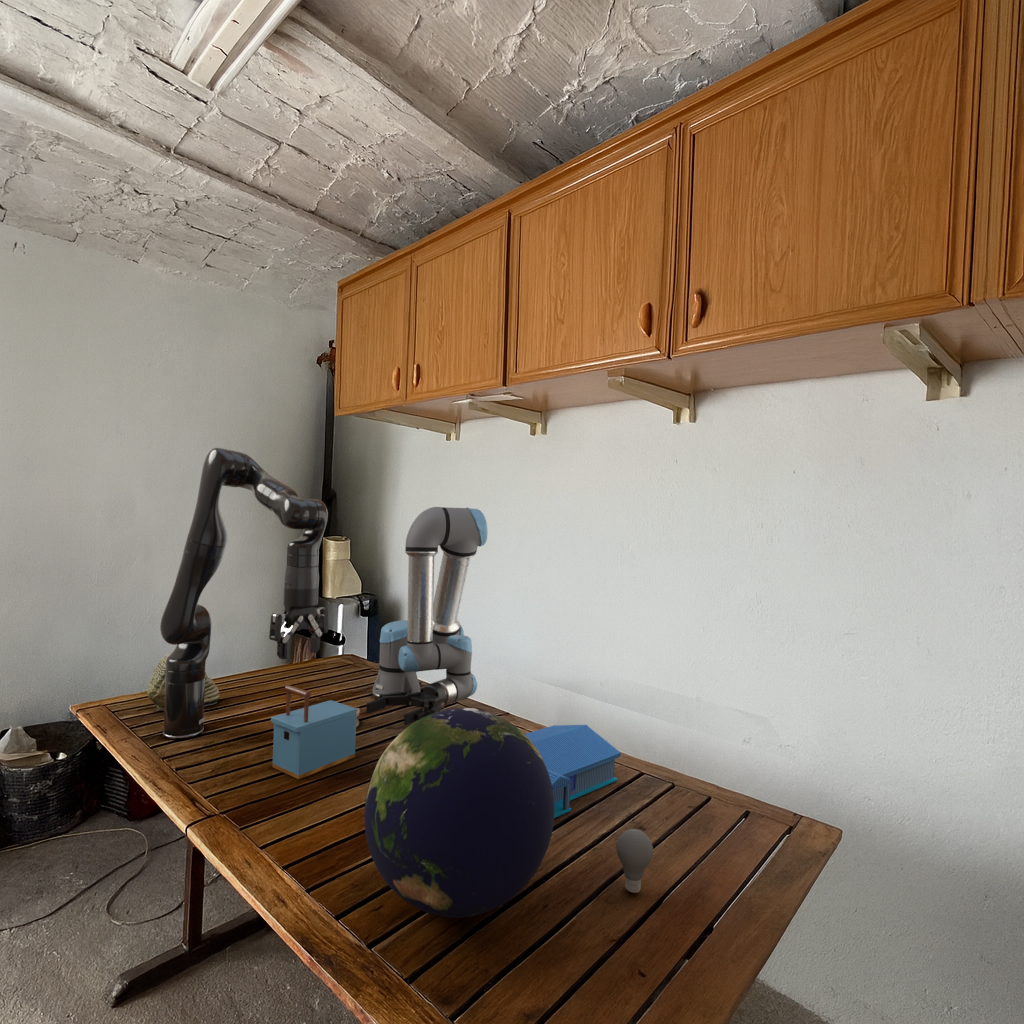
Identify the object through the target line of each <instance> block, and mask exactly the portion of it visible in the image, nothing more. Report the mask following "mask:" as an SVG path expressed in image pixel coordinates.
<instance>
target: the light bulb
mask: <svg viewBox="0 0 1024 1024" xmlns="http://www.w3.org/2000/svg"><path fill="white" fill-rule="evenodd" d="M615 849H616V854H617V857H618V859H619V861H620V863H621V865H622V867H623V873H624V874H623V875H624V876H625V878H624V888H625V890H627V891H628V892H630V893H634V894H635V893H639V892H640V891H641V889H642V887H641V886H642V879H643V877H644V875H645V871H646V868H647V867H648V866H649V864H650V863H651V861H652V859H653V855H654V847H653V843H652V841H651V838H649V836H648V835H647V834H646V833H645V832H643V831H642V830H641V829H636V828H629V829H627V830H625V831H623V832H622V833H621V834H620V835H619V837H618V839H617V841H616V847H615Z"/></svg>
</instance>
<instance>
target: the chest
mask: <svg viewBox="0 0 1024 1024" xmlns="http://www.w3.org/2000/svg"><path fill="white" fill-rule="evenodd" d="M356 718H357V714H353V715H350V716H347V717H344V718H340V719H337V720H334V721H331V722H328V723H325V724H322V725H319V726H316V727H313V728H310V729H306V730H303V731H300V732H295V731H292V730H289V729H287V728H284V727H282V726H279V725H277V724H274V723H273V740H272V741H273V742H272V743H273V744H272V763H271V764H272V766H271V767H272V768H273V769H275V770H277V771H280V772H282V773H284V774H286V775H289V776H290V777H293V778H295V779H297V780H301V779H303V778H306V777H308V776H311V775H313V774H316V773H318V772H321V771H323V770H326V769H328V768H332V767H334V766H336V765H338V764H342V763H343V762H346V761H349V760H352V759H354V758H356V741H357V739H356V738H357V727H356ZM357 719H358V718H357Z"/></svg>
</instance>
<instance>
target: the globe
mask: <svg viewBox="0 0 1024 1024" xmlns="http://www.w3.org/2000/svg"><path fill="white" fill-rule="evenodd" d="M525 734H526V733H524V732H523V731H522V730H521V729H520V728H519V727H517V726H516V725H514V724H513V723H512V722H510V721H509V720H507V719H506V718H503V717H501V716H499V715H497V714H495V713H492V712H489V711H487V710H486V711H485V710H482V709H478V708H472V707H463V708H462V707H461V708H449V709H443V710H441V711H439V712H436V713H433V714H430V715H428V716H426V717H424V718H422V719H420V720H418V721H415V722H413V723H410V724H409V726H407V727H406V728H405V729H403V730H402V731H401V732H400V733H399V734H398V735H397V736H396V737H395V738H394V739H393V740H392V741H391V742H390V743H389V744H388V746H387V747H386V748H385V750H384V752H382V754H381V755H380V757H379V759H378V761H377V763H376V765H375V767H374V770H373V772H372V774H371V777H370V781H369V784H368V787H367V791H366V795H365V800H364V801H365V803H364V811H363V814H364V830H365V831H364V832H365V838H366V842H367V846H368V850H369V853H370V856H371V859H372V861H373V863H374V865H375V868H376V869H377V871H378V872H379V875H380V876H381V877H382V879H383V880H384V882H385V883H386V884H387V885H388V887H389V888H390V889H391V890H392V891H393V892H394V893H395V894H396V895H397V896H398V897H399V898H401V900H403V901H405V902H406V903H407V904H409V905H410V906H412V907H414V908H415V909H417V910H419V911H421V912H425V913H426V914H429V915H433V916H437V917H440V918H441V917H442V918H451V919H460V918H461V919H462V918H470V917H475V916H479V915H482V914H486V913H489V912H491V911H493V910H495V909H497V908H499V907H501V906H503V905H504V904H506V903H507V902H509V901H510V900H512V899H513V898H514V897H515V896H516V895H518V894H519V893H520V892H521V891H522V890H523V889H524V888H525V887H526V886H527V885H528V884H529V883H530V881H531V880H532V878H533V877H534V876H535V875H536V873H537V871H538V870H539V868H540V866H541V865H542V862H543V861H544V858H545V856H546V854H547V852H548V848H549V846H550V843H551V838H552V835H553V834H552V833H553V830H554V822H555V818H554V795H553V789H552V784H551V780H550V777H549V773H548V770H547V768H546V766H545V763H544V760H543V758H542V757H541V755H540V753H539V752H538V750H537V748H536V747H535V745H534V744H533V743H532V742H531V741H530V739H529V738H528V737H527V736H526V735H525Z"/></svg>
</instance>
